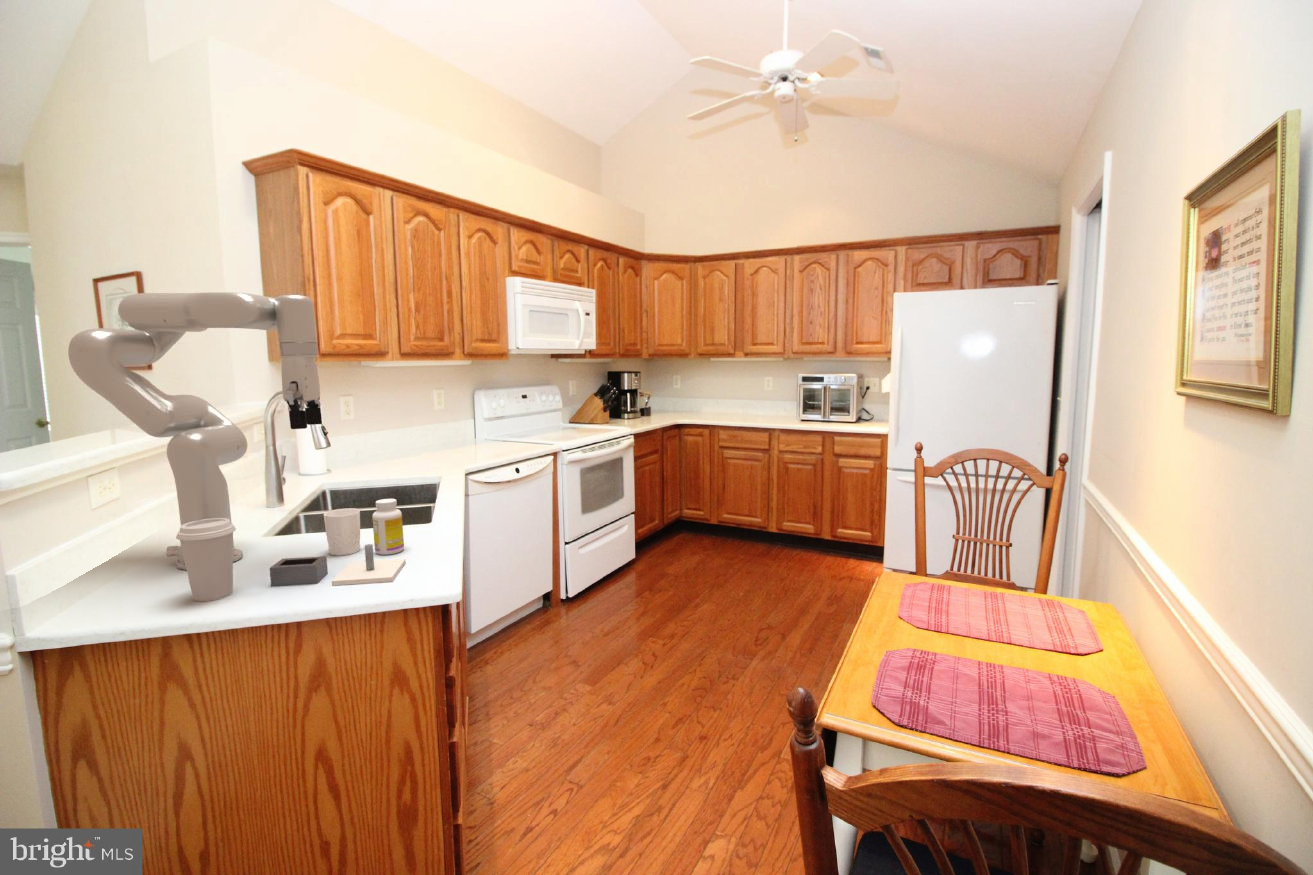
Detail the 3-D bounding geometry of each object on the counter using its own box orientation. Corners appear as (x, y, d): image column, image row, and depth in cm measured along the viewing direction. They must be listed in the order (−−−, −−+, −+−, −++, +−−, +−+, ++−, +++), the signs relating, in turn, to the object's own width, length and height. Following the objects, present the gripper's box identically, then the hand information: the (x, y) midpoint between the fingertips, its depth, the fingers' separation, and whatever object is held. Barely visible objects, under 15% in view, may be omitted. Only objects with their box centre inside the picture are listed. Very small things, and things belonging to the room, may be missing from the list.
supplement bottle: (409, 547, 152) (406, 497, 150) (395, 556, 146) (392, 504, 144) (384, 546, 153) (380, 497, 151) (369, 555, 146) (365, 503, 144)
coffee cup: (242, 583, 129) (235, 514, 127) (241, 597, 121) (233, 524, 119) (186, 592, 123) (178, 521, 121) (180, 608, 115) (171, 532, 113)
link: (271, 586, 126) (269, 568, 126) (283, 576, 132) (282, 558, 132) (317, 583, 128) (316, 565, 127) (327, 573, 134) (326, 556, 133)
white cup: (369, 548, 152) (367, 509, 150) (344, 558, 144) (341, 517, 143) (345, 545, 154) (342, 507, 153) (319, 554, 147) (315, 514, 146)
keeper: (331, 585, 127) (329, 555, 126) (350, 566, 138) (348, 538, 137) (392, 581, 129) (390, 552, 128) (405, 563, 140) (403, 536, 139)
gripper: (295, 352, 144) (303, 423, 146) (264, 351, 127) (273, 431, 129) (329, 351, 145) (336, 422, 148) (303, 350, 129) (311, 429, 131)
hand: (307, 426), depth 138 cm, fingers open, 9 cm apart
